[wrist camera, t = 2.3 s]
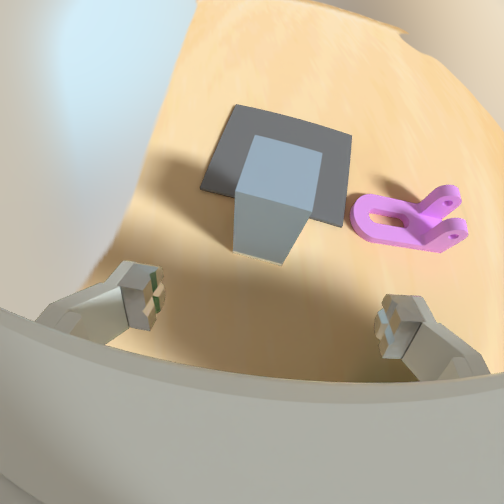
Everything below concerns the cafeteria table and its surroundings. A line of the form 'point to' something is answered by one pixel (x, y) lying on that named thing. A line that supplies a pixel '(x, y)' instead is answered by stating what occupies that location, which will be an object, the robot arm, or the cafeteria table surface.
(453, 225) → the bracket
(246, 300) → the cafeteria table surface
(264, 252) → the slate block
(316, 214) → the mat
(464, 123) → the cafeteria table surface
